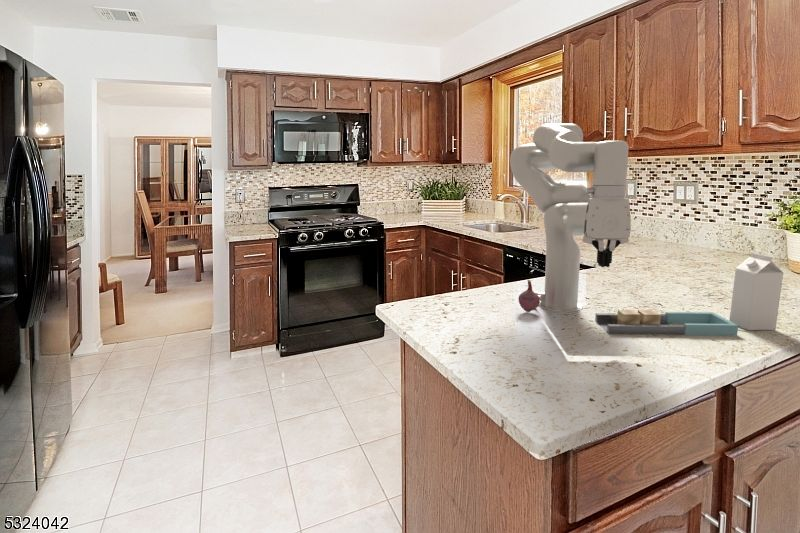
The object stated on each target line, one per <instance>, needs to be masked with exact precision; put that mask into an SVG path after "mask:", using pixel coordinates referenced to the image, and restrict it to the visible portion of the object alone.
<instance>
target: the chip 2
mask: <svg viewBox="0 0 800 533" xmlns="http://www.w3.org/2000/svg"><path fill="white" fill-rule="evenodd" d="M637 313H639V314H640V324H639V325H660V320H661V314H662V313H659V312H658V311H656V310H654V309H638V310H637Z"/></svg>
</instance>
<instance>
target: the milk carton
mask: <svg viewBox="0 0 800 533" xmlns="http://www.w3.org/2000/svg"><path fill="white" fill-rule="evenodd" d="M783 277H784V272H783V271H782V270H781V269H780V268H779V267H778V266H777V265H776V264H775V263H774V262H773V257H772V256H768V255H763V254H759V253H754V252H749V257H748V258H746V259H745V260H743V261H742V262H741V263H740V264H739V265H738V266H736V267H735V271H734V279H733V288H732V294H731V295H732V297H731V304H730V305H731V306H730V312H729V319H728V320H729V321H731V322H733V323H735V324H736V325H738V328H739V327H740V328H741V329H744V330H747V331H771V330H772V331H773V330H776V329H777V322H778V321H777V320H778V314H779V308H780V300H781V294H782V286H783Z"/></svg>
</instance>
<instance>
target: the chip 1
mask: <svg viewBox="0 0 800 533" xmlns="http://www.w3.org/2000/svg"><path fill="white" fill-rule="evenodd" d="M617 313H618V318H617V324H636V325H639V324H640V314H639V313H638V311H636V310H634V309H617Z"/></svg>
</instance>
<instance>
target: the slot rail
mask: <svg viewBox="0 0 800 533" xmlns="http://www.w3.org/2000/svg"><path fill="white" fill-rule="evenodd" d="M660 314H661V320H660V325H636V324H617V318H618V312H615V313H611V312H610V313H609V312H608V313H606V312H605V313H603V312H602V313H601V312H600V313H599V312H596V313H595V318H594V320H595V322H596V323H597V324H598V325H600V327H601V328H602V329H603V330H604V331H605V332H606V334H608V335H655V336H656V335H659V336H660V335H662V336H663V335H666V336H667V335H668V336H669V335H671V336H672V335H673V336H674V335H675V336H676V335H677V336H686V335H685V331H686V327H685V326H684V324H670V323H667V321H668V315H666V314H665V313H660Z"/></svg>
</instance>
